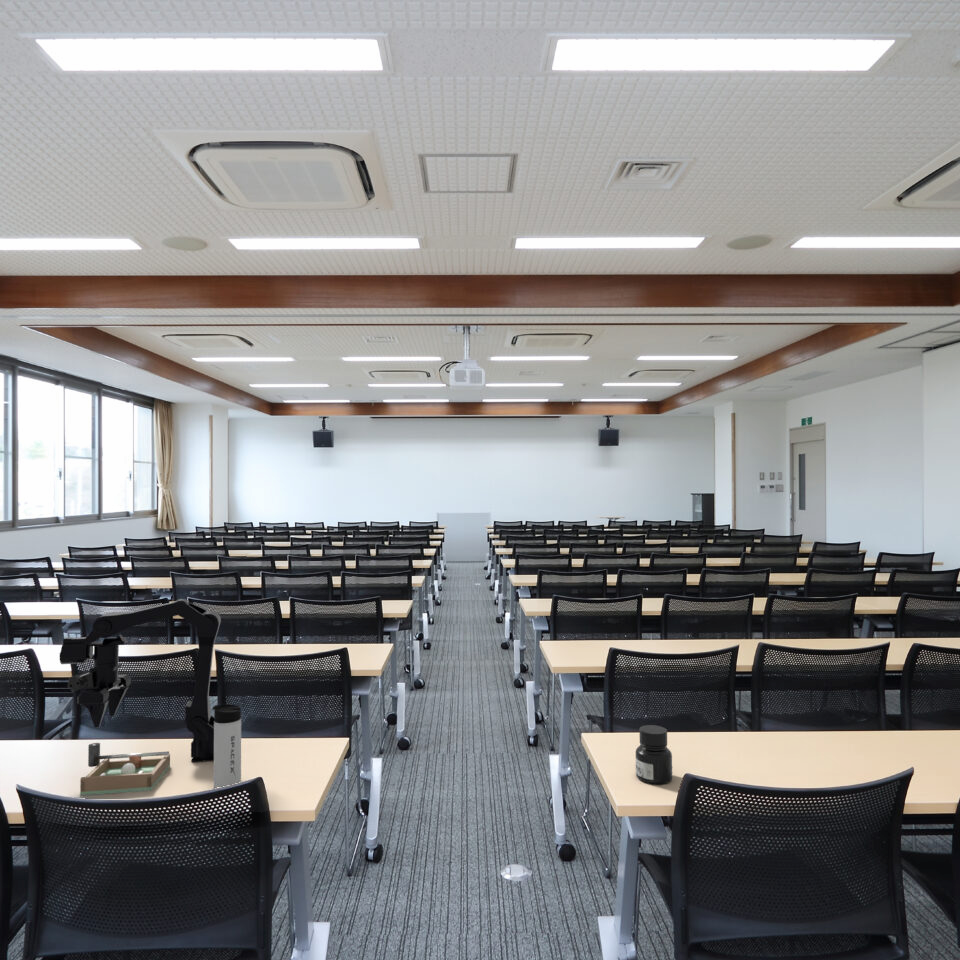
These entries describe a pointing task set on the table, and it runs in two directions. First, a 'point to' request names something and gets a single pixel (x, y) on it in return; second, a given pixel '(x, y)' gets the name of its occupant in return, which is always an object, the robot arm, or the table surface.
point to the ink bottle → (653, 756)
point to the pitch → (124, 776)
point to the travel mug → (227, 745)
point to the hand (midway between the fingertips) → (104, 721)
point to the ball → (128, 768)
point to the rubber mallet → (117, 756)
